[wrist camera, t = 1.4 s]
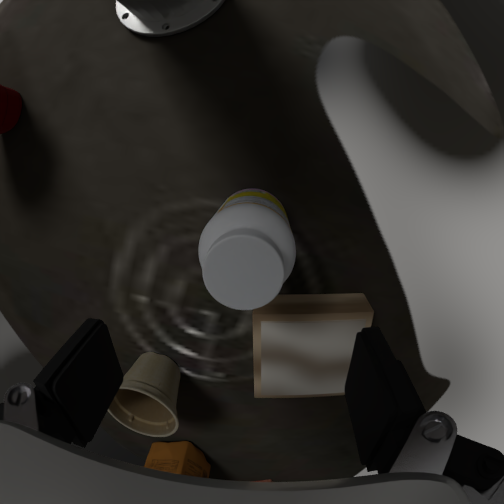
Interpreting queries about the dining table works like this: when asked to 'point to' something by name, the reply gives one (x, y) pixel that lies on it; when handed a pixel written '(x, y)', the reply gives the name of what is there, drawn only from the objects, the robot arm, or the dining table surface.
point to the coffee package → (178, 459)
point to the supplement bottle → (247, 250)
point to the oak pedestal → (306, 343)
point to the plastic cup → (9, 108)
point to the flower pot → (149, 396)
